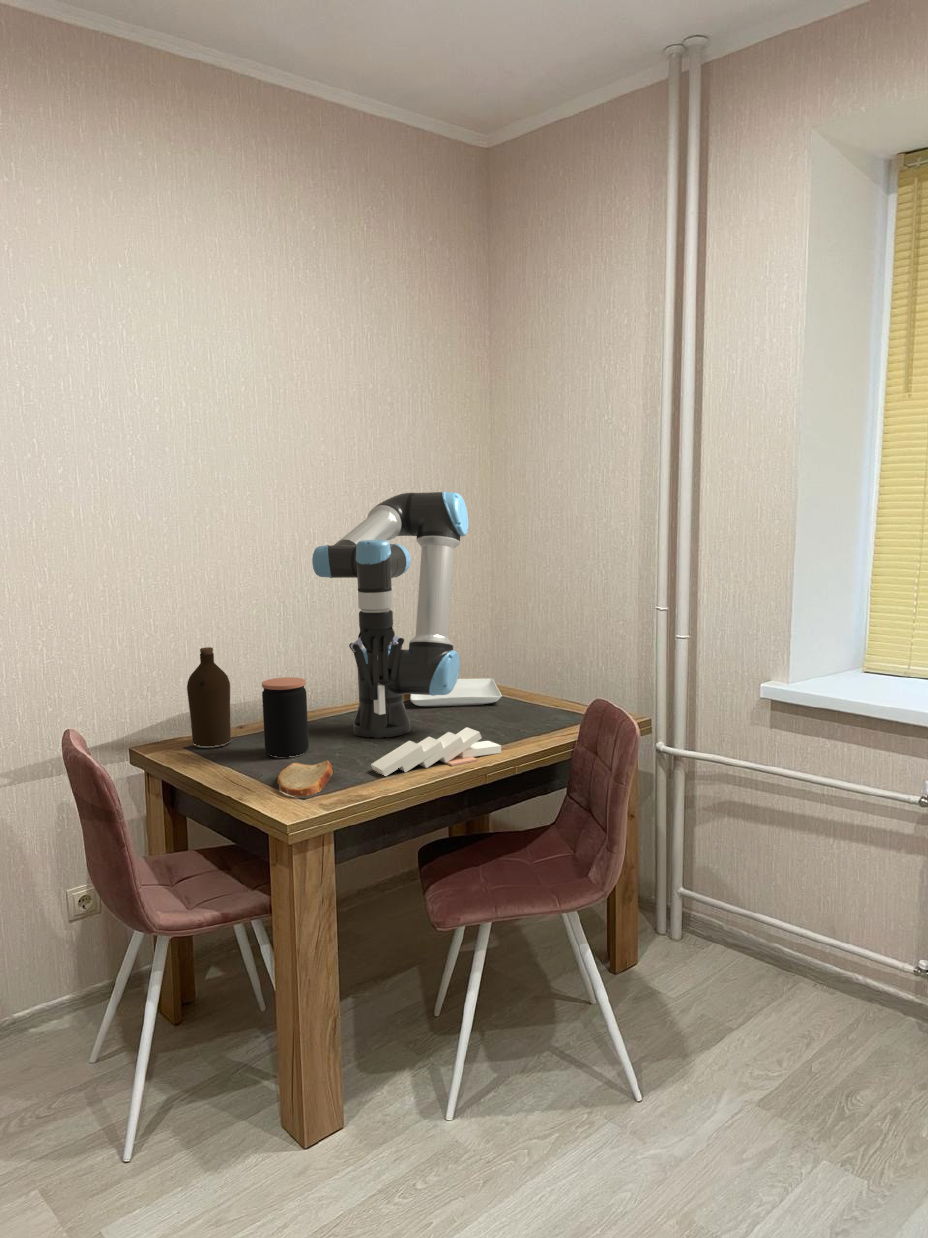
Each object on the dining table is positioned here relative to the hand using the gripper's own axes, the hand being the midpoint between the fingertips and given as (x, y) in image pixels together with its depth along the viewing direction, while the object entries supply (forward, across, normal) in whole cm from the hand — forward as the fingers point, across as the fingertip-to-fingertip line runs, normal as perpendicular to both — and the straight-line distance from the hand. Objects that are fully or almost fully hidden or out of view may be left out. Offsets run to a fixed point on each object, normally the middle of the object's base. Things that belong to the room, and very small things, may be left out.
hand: (379, 712), depth 213 cm
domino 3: (+13, -9, +1) cm, 16 cm away
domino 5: (+13, -20, 0) cm, 24 cm away
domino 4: (+13, -15, +1) cm, 20 cm away
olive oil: (+15, +24, -48) cm, 55 cm away
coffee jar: (+14, +12, -28) cm, 34 cm away
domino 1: (+13, +1, 0) cm, 13 cm away
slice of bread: (+14, +17, -3) cm, 22 cm away
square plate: (+16, -54, -55) cm, 78 cm away
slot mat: (+14, -19, 0) cm, 24 cm away
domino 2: (+13, -4, 0) cm, 14 cm away
